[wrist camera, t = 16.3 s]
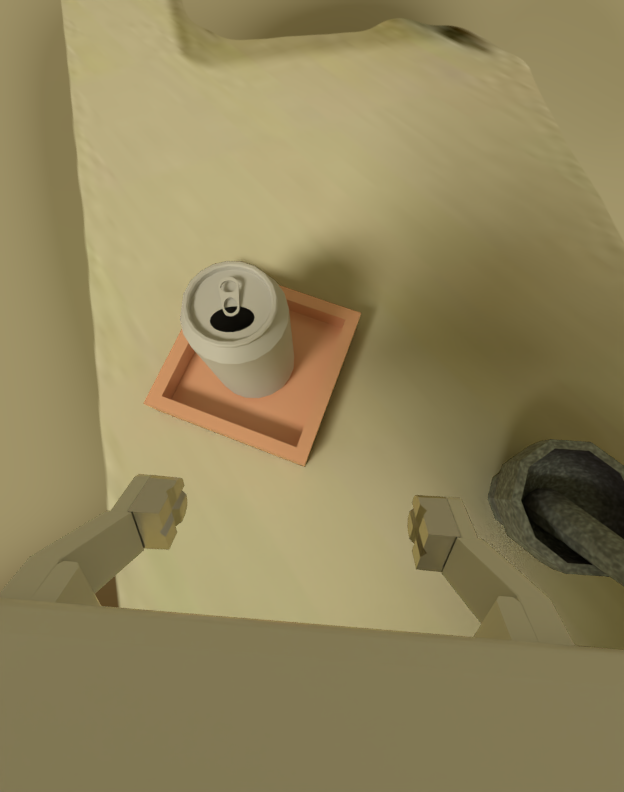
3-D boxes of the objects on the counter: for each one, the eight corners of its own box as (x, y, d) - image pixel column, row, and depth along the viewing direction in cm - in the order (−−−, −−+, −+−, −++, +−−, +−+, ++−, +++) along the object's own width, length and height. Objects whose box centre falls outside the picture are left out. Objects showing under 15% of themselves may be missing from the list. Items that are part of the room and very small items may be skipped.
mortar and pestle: (455, 460, 32) (538, 447, 21) (546, 436, 33) (676, 411, 21) (500, 586, 29) (624, 655, 18) (597, 558, 30) (779, 606, 18)
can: (220, 404, 32) (171, 361, 21) (216, 333, 34) (169, 255, 22) (298, 395, 32) (293, 348, 21) (290, 325, 34) (281, 244, 23)
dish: (304, 466, 32) (304, 465, 29) (157, 410, 33) (143, 403, 30) (356, 326, 35) (361, 313, 33) (222, 280, 37) (215, 263, 34)
